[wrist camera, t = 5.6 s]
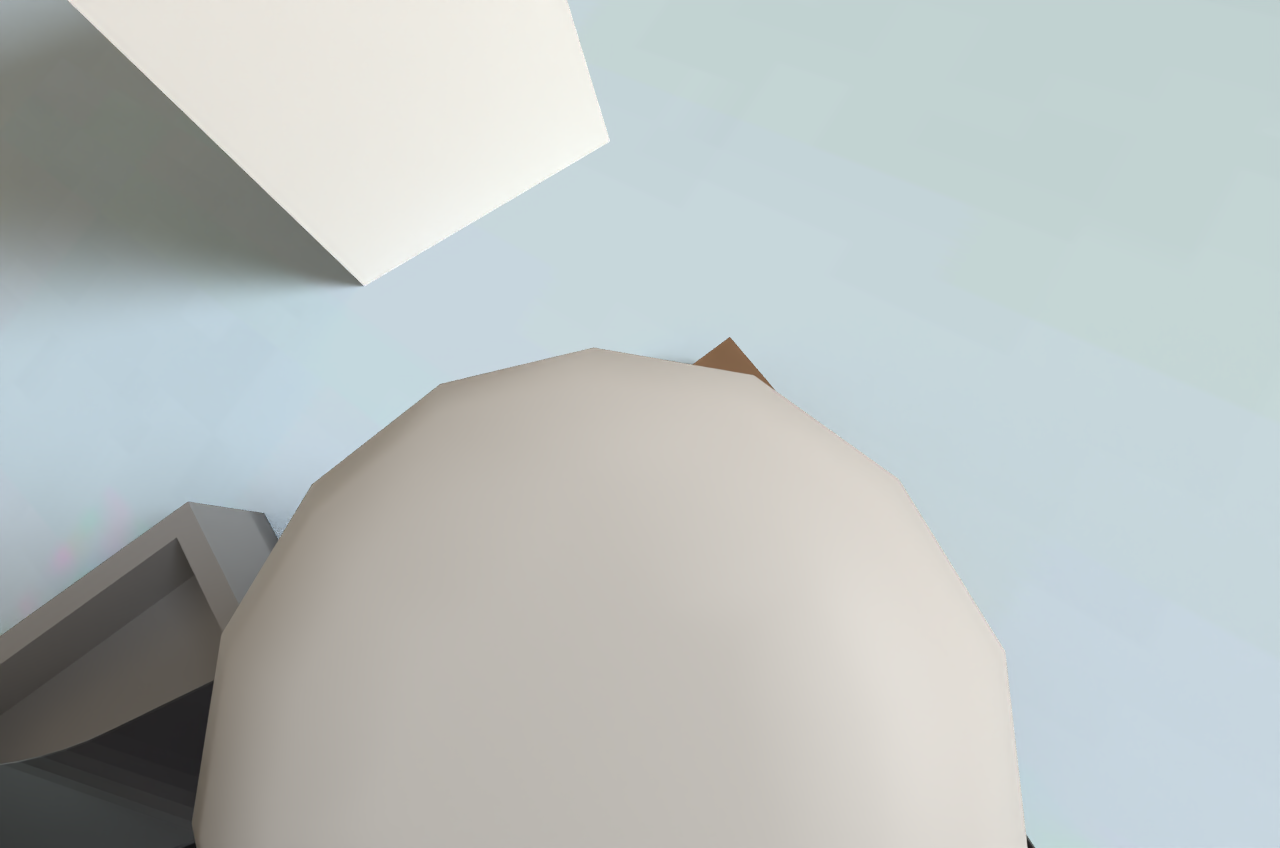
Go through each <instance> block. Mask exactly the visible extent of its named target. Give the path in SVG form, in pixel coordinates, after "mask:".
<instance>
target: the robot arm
mask: <svg viewBox="0 0 1280 848" xmlns="http://www.w3.org/2000/svg"><path fill="white" fill-rule="evenodd" d="M213 684H214V680H212V681H210V682H208V683H206V684H204V685H202V686H200V687H198V688H196V689H194V690H192V691H190V692H188V693H186V694H184V695H181V696H179V697H177V698H175V699H173V700H171V701H169V702H167V703H165V704H163V705H161V706H159V707H157V708H155V709H153V710H151V711H148V712H146V713H144V714H142V715H140V716H138V717H136V718H134V719H132V720H130V721H128V722H126V723H124V724H122V725H120V726H118V727H115V728H113V729H111V730H109V731H107V732H105V733H103V734H100V735H98V736H96V737H94V738H91V739H89V740H87V741H84V742H81V743H79V744H76V745H73V746H71V747H68V748H65V749H63V750H59V751H56V752H53V753H49V754H46V755H43V756H39V757H35V758H30V759H26V760H21V761H17V762H10V763H4V764H0V848H196V843H195V838H194V833H193V828H192V818H193V812H194V805H195V799H196V793H197V786H198V780H199V774H200V767H201V761H202V755H203V748H204V742H205V735H206V729H207V723H208V716H209V710H210V704H211V697H212V691H213ZM1026 839H1027V847H1028V848H1035V847H1034V845H1033V844H1032V842H1031V841H1030V839H1029V838H1028V836H1027V835H1026Z"/></svg>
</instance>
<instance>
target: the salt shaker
mask: <svg viewBox="0 0 1280 848" xmlns="http://www.w3.org/2000/svg"><path fill="white" fill-rule="evenodd" d="M192 828H193V833H194V838H195V843H196V848H1028V847H1027V839H1026V830H1025V821H1024V812H1023V804H1022V795H1021V786H1020V777H1019V768H1018V760H1017V751H1016V742H1015V733H1014V725H1013V716H1012V707H1011V698H1010V690H1009V681H1008V672H1007V663H1006V654H1005V651H1004V649H1003V647H1002V646H1001V644H1000V642H999V641H998V639H997V638H996V636H995V634H994V633H993V631H992V629H991V628H990V626H989V625H988V623H987V621H986V620H985V618H984V616H983V615H982V613H981V612H980V610H979V608H978V607H977V605H976V603H975V602H974V600H973V599H972V597H971V595H970V594H969V592H968V591H967V589H966V587H965V586H964V584H963V582H962V581H961V579H960V578H959V576H958V574H957V573H956V571H955V569H954V568H953V566H952V565H951V563H950V561H949V560H948V558H947V556H946V555H945V553H944V552H943V550H942V548H941V547H940V545H939V544H938V542H937V540H936V539H935V537H934V535H933V534H932V532H931V531H930V529H929V527H928V526H927V524H926V522H925V521H924V519H923V518H922V516H921V514H920V513H919V511H918V509H917V508H916V506H915V505H914V503H913V501H912V500H911V498H910V496H909V495H908V493H907V492H906V490H905V488H904V487H903V485H902V484H901V482H900V480H899V479H898V478H896V477H895V476H894V475H892V474H891V473H889V472H888V471H887V470H885V469H884V468H882V467H881V466H880V465H878V464H877V463H875V462H874V461H873V460H871V459H870V458H868V457H867V456H866V455H864V454H863V453H861V452H860V451H859V450H857V449H856V448H855V447H853V446H852V445H850V444H849V443H848V442H846V441H845V440H843V439H842V438H841V437H839V436H838V435H836V434H835V433H834V432H832V431H831V430H829V429H828V428H827V427H825V426H824V425H822V424H821V423H820V422H818V421H817V420H815V419H814V418H813V417H811V416H810V415H808V414H807V413H806V412H804V411H803V410H802V409H800V408H799V407H797V406H796V405H795V404H793V403H792V402H790V401H789V400H788V399H786V398H785V397H783V396H782V395H781V394H779V393H778V392H776V391H775V390H774V389H772V388H771V387H769V386H768V385H767V384H765V383H764V382H762V381H761V380H760V379H758V378H757V377H756V376H754V375H749V374H743V373H737V372H732V371H726V370H720V369H714V368H708V367H703V366H697V365H691V364H685V363H680V362H674V361H668V360H662V359H656V358H651V357H645V356H639V355H633V354H628V353H622V352H616V351H610V350H604V349H599V348H590V349H586V350H581V351H577V352H573V353H569V354H565V355H560V356H556V357H552V358H548V359H544V360H539V361H535V362H531V363H527V364H523V365H518V366H514V367H510V368H506V369H502V370H497V371H493V372H489V373H485V374H481V375H476V376H472V377H468V378H464V379H460V380H455V381H451V382H447V383H443V384H440V385H438V386H437V387H436V388H435V389H433V390H432V391H431V392H430V393H428V394H427V395H426V396H424V397H423V398H422V399H421V400H419V401H418V402H417V403H415V404H414V405H413V406H412V407H410V408H409V409H408V410H407V411H405V412H404V413H403V414H401V415H400V416H399V417H398V418H396V419H395V420H394V421H392V422H391V423H390V424H389V425H387V426H386V427H385V428H384V429H382V430H381V431H380V432H378V433H377V434H376V435H375V436H373V437H372V438H371V439H369V440H368V441H367V442H366V443H364V444H363V445H362V446H361V447H359V448H358V449H357V450H355V451H354V452H353V453H352V454H350V455H349V456H348V457H346V458H345V459H344V460H343V461H341V462H340V463H339V464H338V465H336V466H335V467H334V468H332V469H331V470H330V471H329V472H327V473H326V474H325V475H323V476H322V477H321V478H320V479H318V480H317V481H316V482H315V483H313V484H312V485H311V487H310V489H309V490H308V492H307V494H306V495H305V497H304V499H303V500H302V502H301V504H300V505H299V507H298V509H297V510H296V512H295V514H294V515H293V517H292V518H291V520H290V522H289V523H288V525H287V527H286V528H285V530H284V532H283V533H282V535H281V537H280V538H279V540H278V542H277V543H276V545H275V547H274V548H273V550H272V552H271V553H270V555H269V557H268V558H267V560H266V561H265V563H264V565H263V566H262V568H261V570H260V571H259V573H258V575H257V576H256V578H255V580H254V581H253V583H252V585H251V586H250V588H249V590H248V591H247V593H246V595H245V596H244V598H243V599H242V601H241V603H240V604H239V606H238V608H237V609H236V611H235V613H234V614H233V616H232V618H231V619H230V621H229V623H228V624H227V626H226V628H225V629H224V631H223V633H222V634H221V640H220V646H219V653H218V659H217V665H216V672H215V678H214V684H213V691H212V697H211V704H210V710H209V716H208V723H207V729H206V735H205V742H204V748H203V755H202V761H201V767H200V774H199V780H198V786H197V793H196V799H195V805H194V812H193V818H192Z"/></svg>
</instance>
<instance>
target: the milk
mask: <svg viewBox="0 0 1280 848" xmlns="http://www.w3.org/2000/svg"><path fill="white" fill-rule="evenodd" d="M68 1H69V2H70V3H71V4H72V5H73V6H74V7H75V8H76V9H77V10H78V11H79V12H80V13H81V14H82V15H83V16H84V17H85V18H86V19H88V20H89V21H90V22H91V23H92V24H93V25H94V26H95V27H96V28H97V29H98V30H99V31H100V32H101V33H102V34H103V35H104V36H105V37H106V38H107V39H108V40H109V41H110V42H111V43H112V44H113V45H114V46H116V47H117V48H118V49H119V50H120V51H121V52H122V53H123V54H124V55H125V56H126V57H127V58H128V59H129V60H130V61H131V62H132V63H133V64H134V65H135V66H136V67H137V68H138V69H139V70H140V71H141V72H143V73H144V74H145V75H146V76H147V77H148V78H149V79H150V80H151V81H152V82H153V83H154V84H155V85H156V86H157V87H158V88H159V89H160V90H161V91H162V92H163V93H164V94H165V95H166V96H167V97H168V98H170V99H171V100H172V101H173V102H174V103H175V104H176V105H177V106H178V107H179V108H180V109H181V110H182V111H183V112H184V113H185V114H186V115H187V116H188V117H189V118H190V119H191V120H192V121H193V122H194V123H195V124H196V125H198V126H199V127H200V128H201V129H202V130H203V131H204V132H205V133H206V134H207V135H208V136H209V137H210V138H211V139H212V140H213V141H214V142H215V143H216V144H217V145H218V146H219V147H220V148H221V149H222V150H223V151H225V152H226V153H227V154H228V155H229V156H230V157H231V158H232V159H233V160H234V161H235V162H236V163H237V164H238V165H239V166H240V167H241V168H242V169H243V170H244V171H245V172H246V173H247V174H248V175H249V176H250V177H252V178H253V179H254V180H255V181H256V182H257V183H258V184H259V185H260V186H261V187H262V188H263V189H264V190H265V191H266V192H267V193H268V194H269V195H270V196H271V197H272V198H273V199H274V200H275V201H276V202H277V203H278V204H280V205H281V206H282V207H283V208H284V209H285V210H286V211H287V212H288V213H289V214H290V215H291V216H292V217H293V218H294V219H295V220H296V221H297V222H298V223H299V224H300V225H301V226H302V227H303V228H304V229H305V230H307V231H308V232H309V233H310V234H311V235H312V236H313V237H314V238H315V239H316V240H317V241H318V242H319V243H320V244H321V245H322V246H323V247H324V248H325V249H326V250H327V251H328V252H329V253H330V254H331V255H332V256H334V257H335V258H336V259H337V260H338V261H339V262H340V263H341V264H342V265H343V266H344V267H345V268H346V269H347V270H348V271H349V272H350V273H351V274H352V275H353V276H354V277H355V278H356V279H357V280H358V281H359V282H360V283H362V284H363V285H364V286H366V285H367V284H369V283H371V282H373V281H374V280H376V279H378V278H379V277H381V276H383V275H384V274H386V273H388V272H389V271H391V270H393V269H395V268H396V267H398V266H400V265H401V264H403V263H405V262H406V261H408V260H410V259H412V258H413V257H415V256H417V255H418V254H420V253H422V252H423V251H425V250H427V249H428V248H430V247H432V246H434V245H435V244H437V243H439V242H440V241H442V240H444V239H445V238H447V237H449V236H451V235H452V234H454V233H456V232H457V231H459V230H461V229H462V228H464V227H466V226H467V225H469V224H471V223H473V222H474V221H476V220H478V219H479V218H481V217H483V216H484V215H486V214H488V213H490V212H491V211H493V210H495V209H496V208H498V207H500V206H501V205H503V204H505V203H506V202H508V201H510V200H512V199H513V198H515V197H517V196H518V195H520V194H522V193H523V192H525V191H527V190H528V189H530V188H532V187H534V186H535V185H537V184H539V183H540V182H542V181H544V180H545V179H547V178H549V177H551V176H552V175H554V174H556V173H557V172H559V171H561V170H562V169H564V168H566V167H567V166H569V165H571V164H573V163H574V162H576V161H578V160H579V159H581V158H583V157H584V156H586V155H588V154H590V153H591V152H593V151H595V150H596V149H598V148H600V147H601V146H603V145H605V144H606V143H608V142H610V140H609V136H608V133H607V130H606V126H605V123H604V120H603V117H602V113H601V110H600V107H599V104H598V100H597V97H596V94H595V90H594V87H593V84H592V81H591V77H590V74H589V71H588V67H587V64H586V61H585V58H584V54H583V51H582V48H581V45H580V41H579V38H578V35H577V31H576V28H575V25H574V22H573V18H572V15H571V12H570V8H569V5H568V2H567V0H68Z"/></svg>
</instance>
